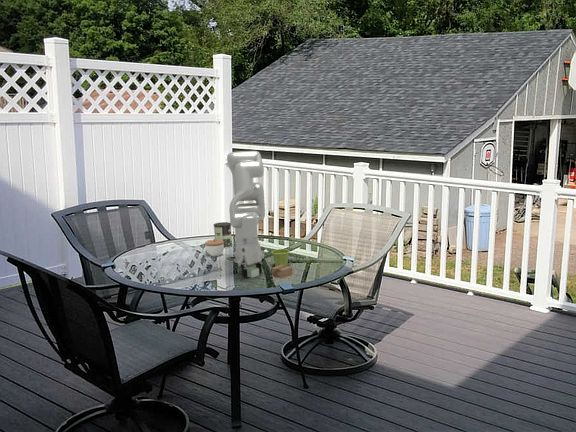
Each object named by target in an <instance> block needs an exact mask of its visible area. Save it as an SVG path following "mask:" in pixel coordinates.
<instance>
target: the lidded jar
mask: <svg viewBox="0 0 576 432" xmlns="http://www.w3.org/2000/svg"><path fill="white" fill-rule="evenodd" d="M204 244H205V245H204V246H205V251H206V253H207V254H208V255H209V256H210V257H219V255H220V256H221V255H222V254H223V252H224V241H223V240H215V238H213V239H210V240H207V241H205V242H204Z"/></svg>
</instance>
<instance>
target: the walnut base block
mask: <svg viewBox="0 0 576 432" xmlns="http://www.w3.org/2000/svg"><path fill="white" fill-rule="evenodd" d="M292 274H293V266H290V265H289V266H288V265H287V266H285V265H279V266H274V267H271V277H273V276H275V277H274V278H277V277H279V278H278V279H281V278H284V279H286V278H285V277H287V278H289V277H292V276H293V275H292ZM291 275H292V276H291ZM288 276H289V277H288Z"/></svg>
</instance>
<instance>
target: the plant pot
mask: <svg viewBox="0 0 576 432" xmlns="http://www.w3.org/2000/svg"><path fill="white" fill-rule="evenodd" d="M290 252H291V251H290V250H289V249H286V248H285V249H283V248H282V249H281V248H278V249H274V250H272V251H271V254H272V257H273V261H274V267H276V266H279V265H285V266H288V263H289V262H288V261H289V256H290Z"/></svg>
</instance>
